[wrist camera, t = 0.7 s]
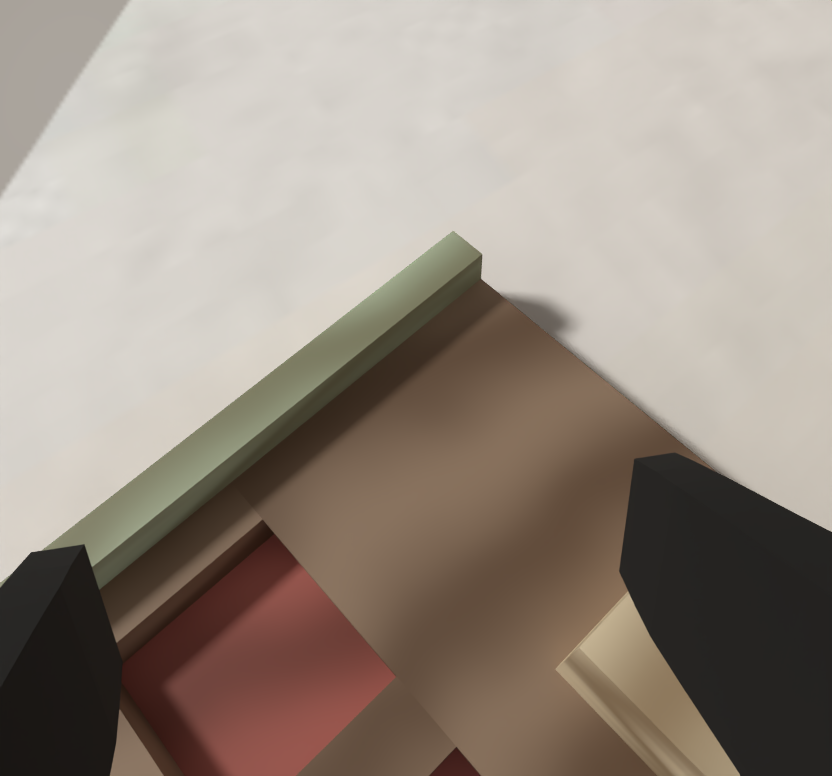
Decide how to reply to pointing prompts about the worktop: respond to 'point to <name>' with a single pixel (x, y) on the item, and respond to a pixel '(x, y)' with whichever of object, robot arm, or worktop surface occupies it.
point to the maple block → (643, 697)
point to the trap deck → (379, 552)
